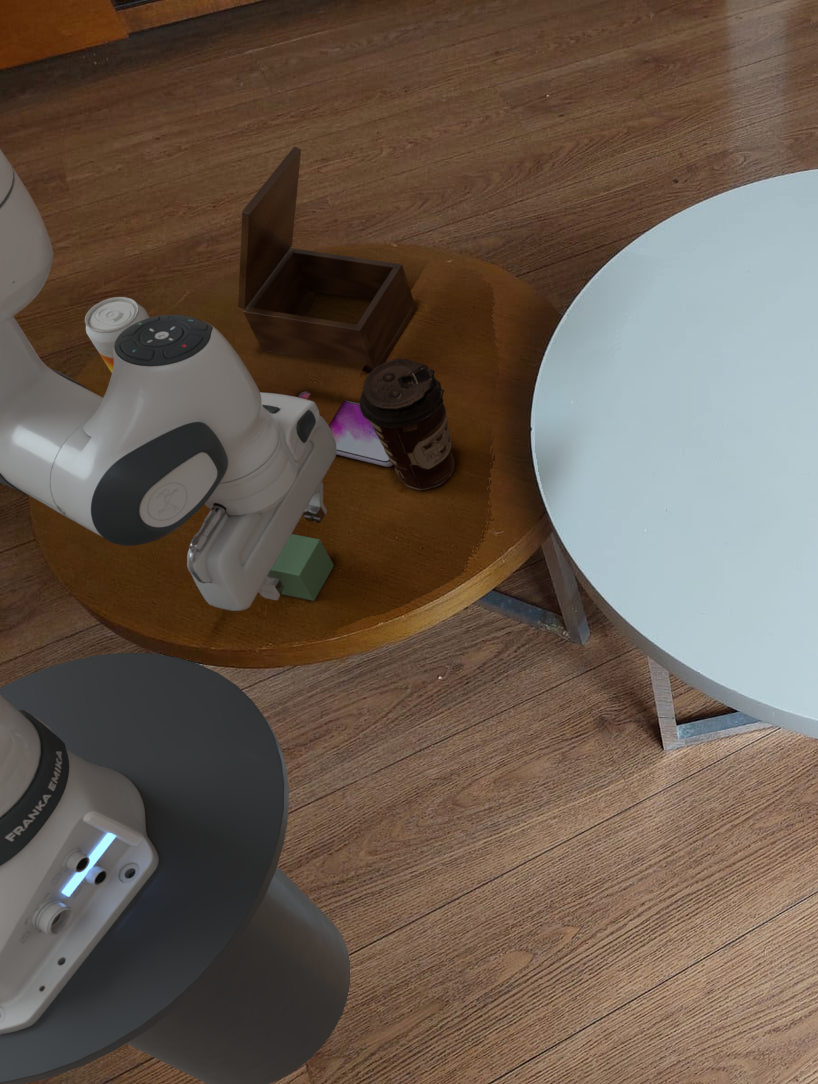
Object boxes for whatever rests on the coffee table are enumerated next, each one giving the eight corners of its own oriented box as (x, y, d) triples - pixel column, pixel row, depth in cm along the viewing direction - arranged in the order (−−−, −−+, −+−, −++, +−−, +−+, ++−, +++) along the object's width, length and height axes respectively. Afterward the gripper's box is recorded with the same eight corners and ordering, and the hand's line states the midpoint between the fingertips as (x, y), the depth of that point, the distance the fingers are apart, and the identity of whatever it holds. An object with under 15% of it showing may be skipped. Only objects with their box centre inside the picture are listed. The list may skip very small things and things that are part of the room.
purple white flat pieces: (390, 464, 119) (269, 435, 122) (392, 470, 120) (272, 440, 123) (420, 417, 123) (302, 389, 126) (422, 422, 124) (305, 394, 127)
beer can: (177, 439, 123) (115, 339, 111) (132, 426, 125) (67, 325, 113) (210, 403, 127) (154, 302, 115) (167, 390, 128) (107, 288, 116)
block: (314, 601, 110) (299, 575, 106) (273, 592, 110) (257, 567, 107) (334, 565, 112) (320, 539, 109) (294, 557, 113) (279, 531, 109)
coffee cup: (479, 446, 122) (454, 360, 111) (451, 504, 117) (422, 419, 106) (405, 434, 123) (374, 348, 112) (375, 490, 118) (339, 405, 108)
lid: (301, 149, 120) (294, 145, 119) (249, 214, 113) (241, 211, 113) (292, 245, 132) (285, 242, 132) (244, 309, 125) (237, 306, 125)
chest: (416, 308, 135) (402, 264, 130) (376, 373, 129) (359, 330, 123) (308, 291, 138) (290, 247, 132) (264, 355, 131) (242, 311, 126)
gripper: (215, 566, 92) (276, 649, 103) (323, 389, 103) (367, 481, 114) (148, 553, 93) (216, 636, 104) (262, 379, 104) (312, 471, 115)
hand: (296, 554), depth 109 cm, fingers open, 8 cm apart
